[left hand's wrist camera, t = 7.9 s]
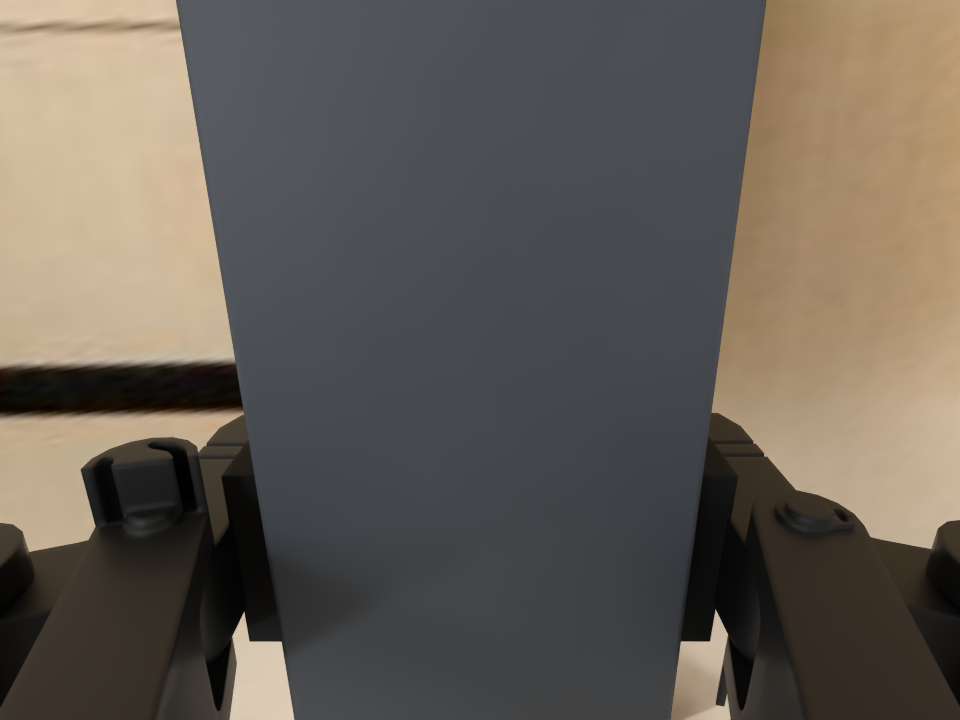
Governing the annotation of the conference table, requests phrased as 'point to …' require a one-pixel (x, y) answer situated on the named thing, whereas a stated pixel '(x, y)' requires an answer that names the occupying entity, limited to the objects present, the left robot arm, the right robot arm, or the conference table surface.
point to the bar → (476, 333)
